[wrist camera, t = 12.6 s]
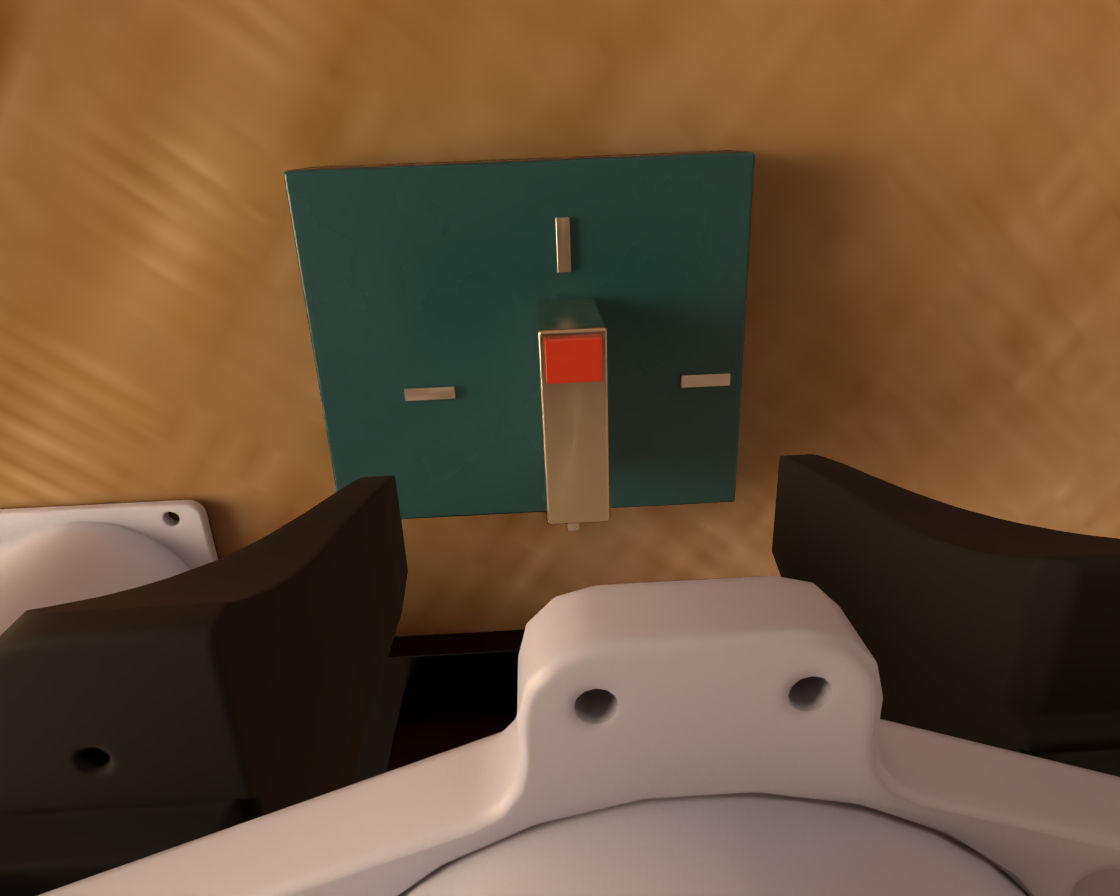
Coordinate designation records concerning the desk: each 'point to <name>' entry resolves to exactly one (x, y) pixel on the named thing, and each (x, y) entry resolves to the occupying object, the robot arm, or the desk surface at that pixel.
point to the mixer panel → (525, 319)
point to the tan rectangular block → (574, 409)
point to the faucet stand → (440, 697)
